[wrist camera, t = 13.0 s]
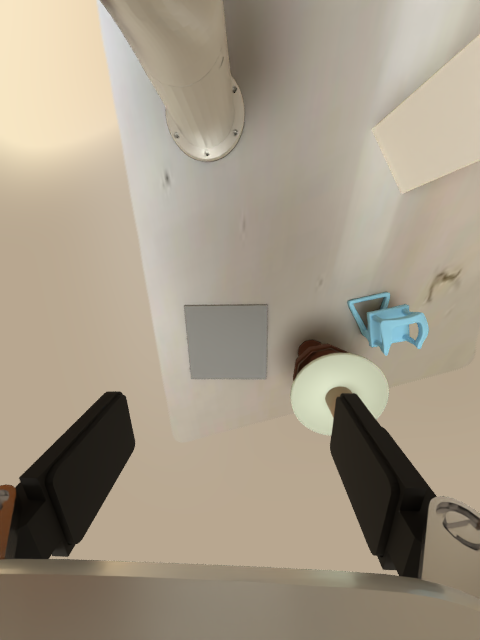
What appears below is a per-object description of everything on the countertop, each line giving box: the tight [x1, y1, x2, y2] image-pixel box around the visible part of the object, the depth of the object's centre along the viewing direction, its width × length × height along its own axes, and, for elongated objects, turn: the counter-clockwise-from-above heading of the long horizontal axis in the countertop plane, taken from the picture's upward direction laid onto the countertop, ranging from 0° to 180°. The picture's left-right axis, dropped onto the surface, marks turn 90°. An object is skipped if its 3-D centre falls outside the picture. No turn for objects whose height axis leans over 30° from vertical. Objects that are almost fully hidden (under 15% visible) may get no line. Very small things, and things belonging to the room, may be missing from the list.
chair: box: [347, 292, 429, 355], centre depth 40 cm, size 8×8×12 cm
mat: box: [184, 305, 268, 379], centre depth 48 cm, size 17×17×1 cm
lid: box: [290, 353, 389, 436], centre depth 31 cm, size 14×14×6 cm
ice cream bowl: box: [293, 340, 348, 381], centre depth 41 cm, size 11×11×15 cm
